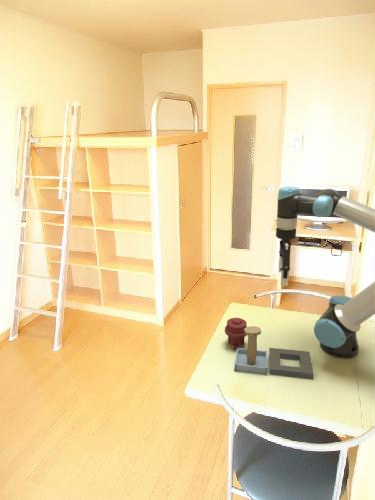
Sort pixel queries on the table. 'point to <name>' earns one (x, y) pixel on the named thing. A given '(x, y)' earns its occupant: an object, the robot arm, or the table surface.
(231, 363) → the table surface
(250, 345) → the handle
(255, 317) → the table surface
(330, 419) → the table surface
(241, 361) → the tray
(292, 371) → the slotted grey plate
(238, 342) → the mechanical component
